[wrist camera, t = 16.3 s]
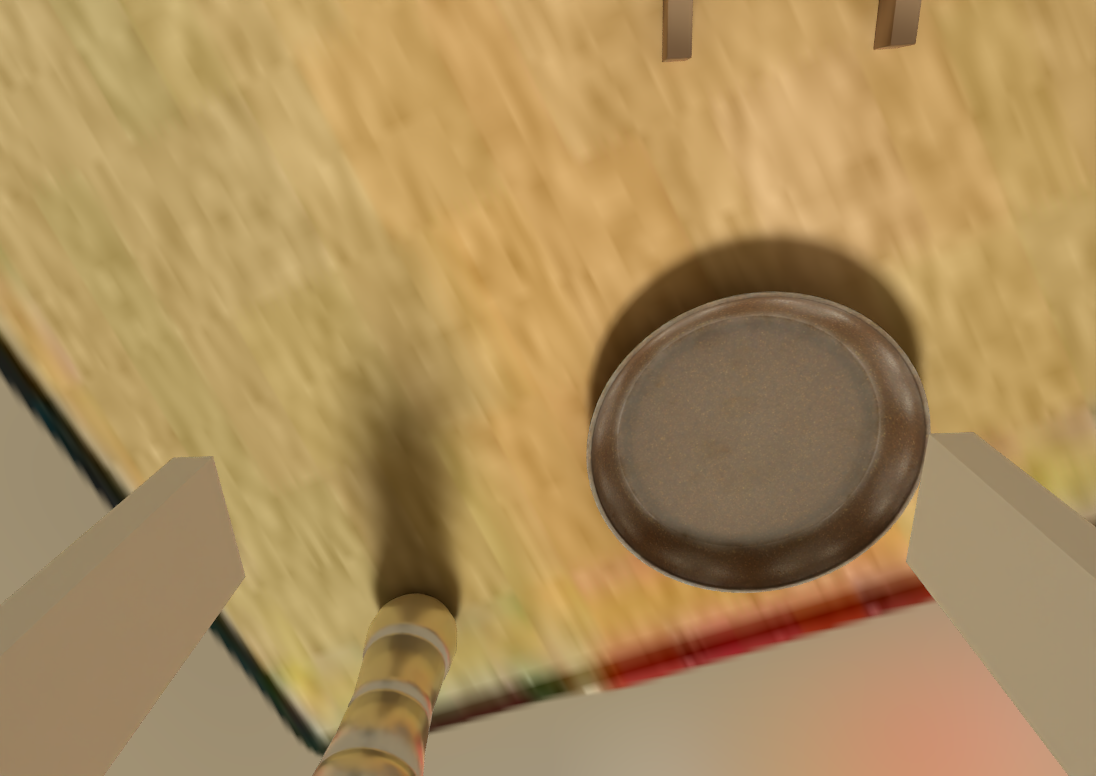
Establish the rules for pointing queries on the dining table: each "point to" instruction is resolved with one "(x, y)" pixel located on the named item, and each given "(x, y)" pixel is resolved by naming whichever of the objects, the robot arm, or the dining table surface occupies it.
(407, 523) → the dining table surface
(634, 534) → the plant saucer
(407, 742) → the plastic bottle
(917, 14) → the brown u-shaped frame
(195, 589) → the robot arm
